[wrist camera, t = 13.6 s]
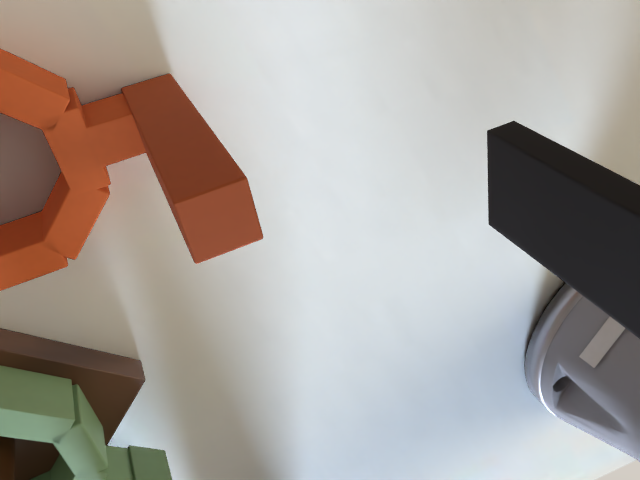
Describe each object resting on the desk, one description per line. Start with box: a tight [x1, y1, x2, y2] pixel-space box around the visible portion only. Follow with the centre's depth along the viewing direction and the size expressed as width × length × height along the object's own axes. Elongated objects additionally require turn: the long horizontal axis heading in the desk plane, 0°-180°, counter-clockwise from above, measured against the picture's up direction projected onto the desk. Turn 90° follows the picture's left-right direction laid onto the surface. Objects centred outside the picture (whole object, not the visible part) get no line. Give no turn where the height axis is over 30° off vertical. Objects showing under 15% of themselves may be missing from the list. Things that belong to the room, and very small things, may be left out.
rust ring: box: [0, 49, 263, 291], centre depth 19 cm, size 12×8×10 cm
